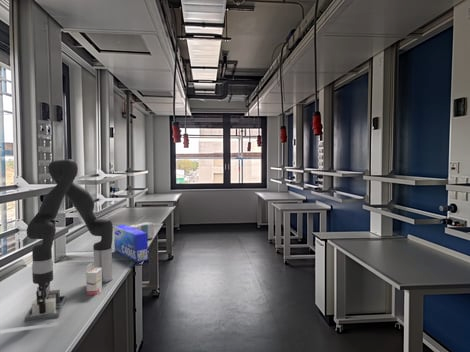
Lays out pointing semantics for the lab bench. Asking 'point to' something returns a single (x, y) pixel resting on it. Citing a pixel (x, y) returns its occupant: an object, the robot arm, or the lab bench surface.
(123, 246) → the toner cartridge box
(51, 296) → the block
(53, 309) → the block
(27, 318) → the tray with compartments
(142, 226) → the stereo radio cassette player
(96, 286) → the ink cartridge box
